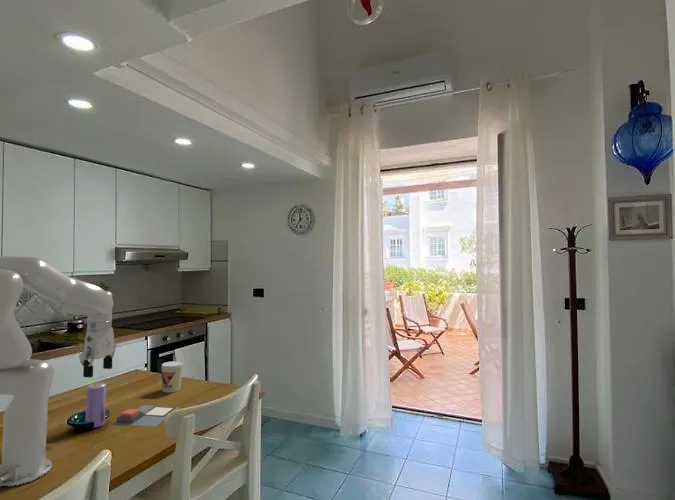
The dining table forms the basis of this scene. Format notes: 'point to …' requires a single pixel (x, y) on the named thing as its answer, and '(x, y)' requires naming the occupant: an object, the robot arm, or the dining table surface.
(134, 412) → the button
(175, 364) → the coffee cup
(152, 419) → the picture board
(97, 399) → the beverage can
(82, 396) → the dining table surface
